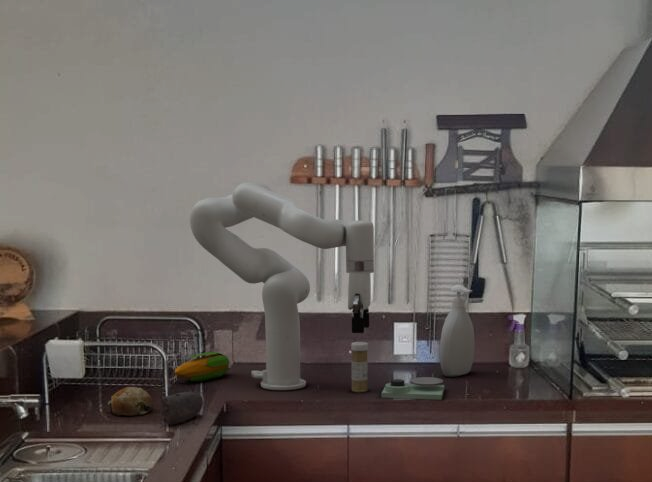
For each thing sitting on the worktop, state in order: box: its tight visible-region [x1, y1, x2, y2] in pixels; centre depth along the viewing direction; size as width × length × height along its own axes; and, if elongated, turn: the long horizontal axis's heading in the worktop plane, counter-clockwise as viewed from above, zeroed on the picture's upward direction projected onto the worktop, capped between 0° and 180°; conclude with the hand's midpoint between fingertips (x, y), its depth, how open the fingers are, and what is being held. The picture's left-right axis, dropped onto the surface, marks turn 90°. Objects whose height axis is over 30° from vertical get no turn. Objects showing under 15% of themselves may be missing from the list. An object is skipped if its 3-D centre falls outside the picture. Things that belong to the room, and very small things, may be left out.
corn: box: [173, 351, 231, 382], centre depth 259 cm, size 7×8×20 cm
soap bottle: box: [439, 284, 476, 378], centre depth 267 cm, size 14×8×27 cm, turn 137°
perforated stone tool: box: [159, 391, 204, 426], centre depth 213 cm, size 15×5×7 cm, turn 155°
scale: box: [380, 382, 445, 401], centre depth 243 cm, size 16×12×3 cm
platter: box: [410, 376, 444, 386], centre depth 244 cm, size 9×9×1 cm
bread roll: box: [107, 386, 154, 417], centre depth 221 cm, size 10×10×8 cm
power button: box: [390, 378, 405, 387], centre depth 241 cm, size 4×4×2 cm
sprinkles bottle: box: [350, 341, 369, 393], centre depth 245 cm, size 5×5×14 cm
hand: (360, 330), depth 244 cm, fingers open, 9 cm apart
